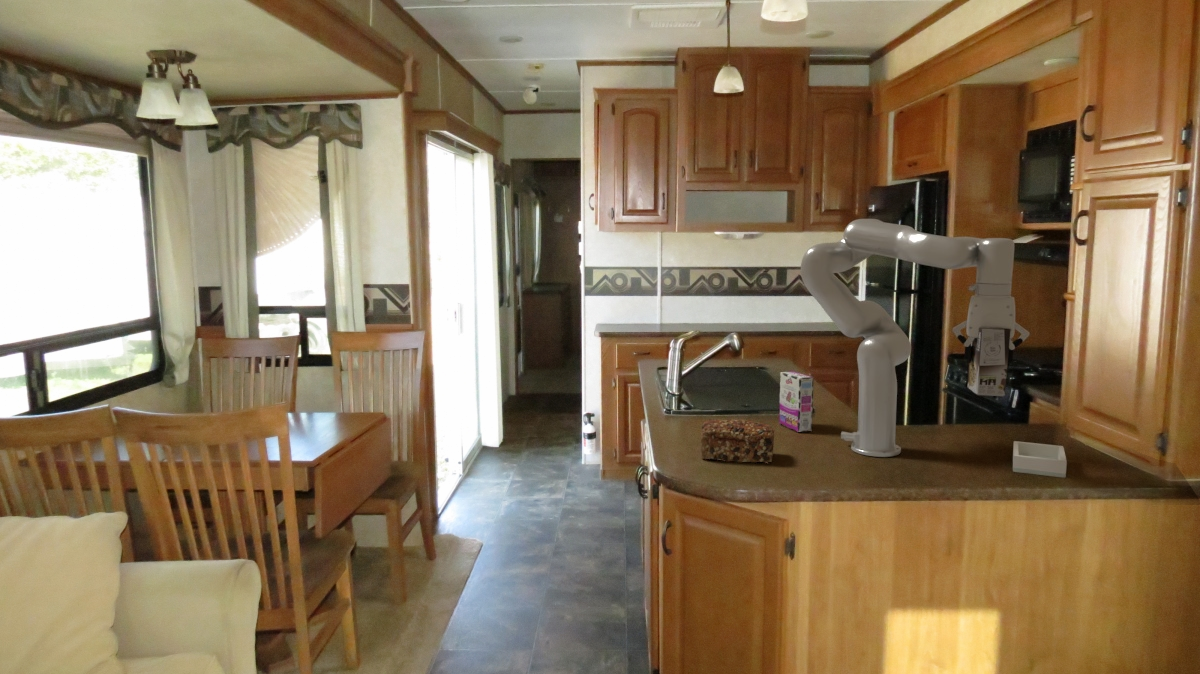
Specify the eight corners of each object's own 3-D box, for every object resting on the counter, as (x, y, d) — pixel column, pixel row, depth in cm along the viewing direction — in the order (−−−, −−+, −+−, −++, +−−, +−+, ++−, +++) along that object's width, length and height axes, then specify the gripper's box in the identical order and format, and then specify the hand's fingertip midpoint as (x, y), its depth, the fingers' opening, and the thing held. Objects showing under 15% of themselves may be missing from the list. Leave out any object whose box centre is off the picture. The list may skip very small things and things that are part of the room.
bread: (700, 461, 198) (700, 424, 197) (704, 449, 209) (704, 414, 207) (773, 465, 194) (773, 427, 192) (774, 453, 204) (774, 417, 203)
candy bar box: (813, 431, 224) (814, 377, 221) (798, 433, 222) (799, 378, 220) (792, 422, 234) (793, 370, 232) (778, 424, 233) (779, 371, 230)
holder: (1012, 471, 186) (1013, 455, 185) (1012, 455, 198) (1013, 441, 197) (1065, 477, 180) (1066, 461, 180) (1062, 461, 193) (1063, 446, 192)
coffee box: (1006, 396, 178) (1011, 328, 176) (976, 395, 180) (981, 328, 177) (994, 388, 187) (999, 323, 185) (966, 387, 188) (971, 322, 186)
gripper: (951, 290, 180) (946, 363, 183) (1035, 293, 172) (1029, 369, 175) (953, 288, 187) (949, 358, 190) (1034, 290, 179) (1028, 364, 182)
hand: (987, 363), depth 182 cm, fingers closed on coffee box, 7 cm apart
